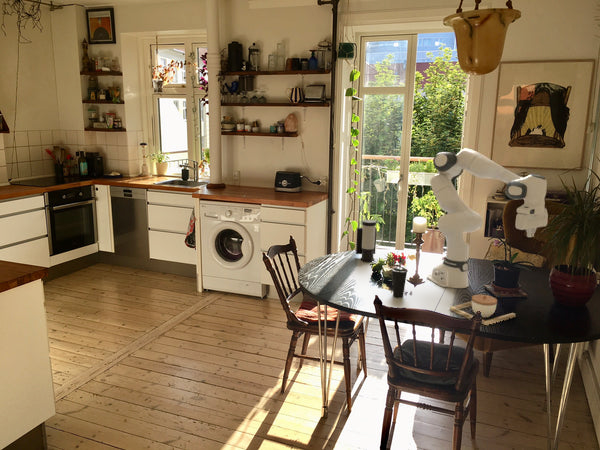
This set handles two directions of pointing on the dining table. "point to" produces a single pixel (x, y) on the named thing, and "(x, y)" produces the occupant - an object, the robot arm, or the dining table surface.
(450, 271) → the robot arm
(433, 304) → the dining table surface
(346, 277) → the dining table surface
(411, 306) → the dining table surface
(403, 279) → the drinking cup
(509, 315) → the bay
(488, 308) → the lidded jar
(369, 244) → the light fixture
